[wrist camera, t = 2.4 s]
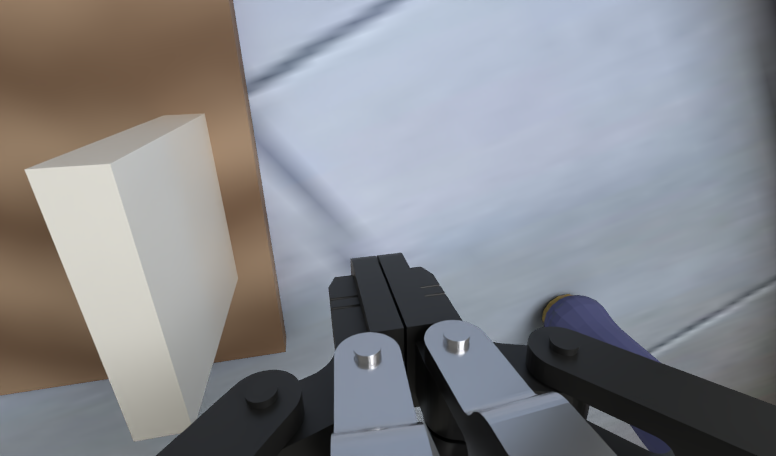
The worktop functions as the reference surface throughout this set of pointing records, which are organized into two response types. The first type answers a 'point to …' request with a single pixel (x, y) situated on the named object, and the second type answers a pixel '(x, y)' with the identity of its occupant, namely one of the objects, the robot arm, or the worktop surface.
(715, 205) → the worktop surface
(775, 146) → the worktop surface
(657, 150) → the worktop surface
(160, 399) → the block
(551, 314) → the rubber mallet
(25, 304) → the board
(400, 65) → the worktop surface
